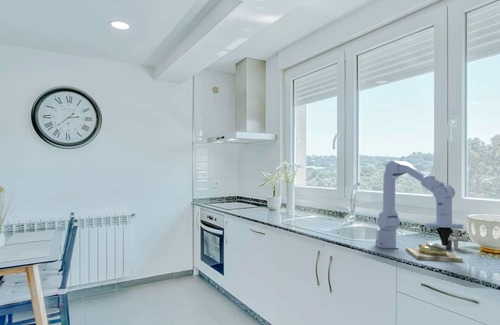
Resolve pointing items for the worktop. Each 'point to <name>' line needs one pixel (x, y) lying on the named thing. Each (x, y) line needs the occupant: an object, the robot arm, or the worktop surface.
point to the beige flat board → (433, 256)
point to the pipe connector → (457, 239)
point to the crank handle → (435, 248)
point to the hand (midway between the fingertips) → (444, 245)
